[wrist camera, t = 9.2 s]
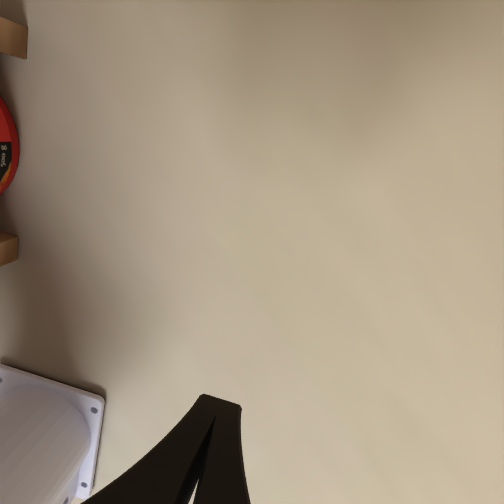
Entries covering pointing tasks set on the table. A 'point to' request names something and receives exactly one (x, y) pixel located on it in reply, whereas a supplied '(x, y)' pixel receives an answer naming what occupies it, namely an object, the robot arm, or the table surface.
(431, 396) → the table surface
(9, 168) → the canned food
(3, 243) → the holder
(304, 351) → the table surface
